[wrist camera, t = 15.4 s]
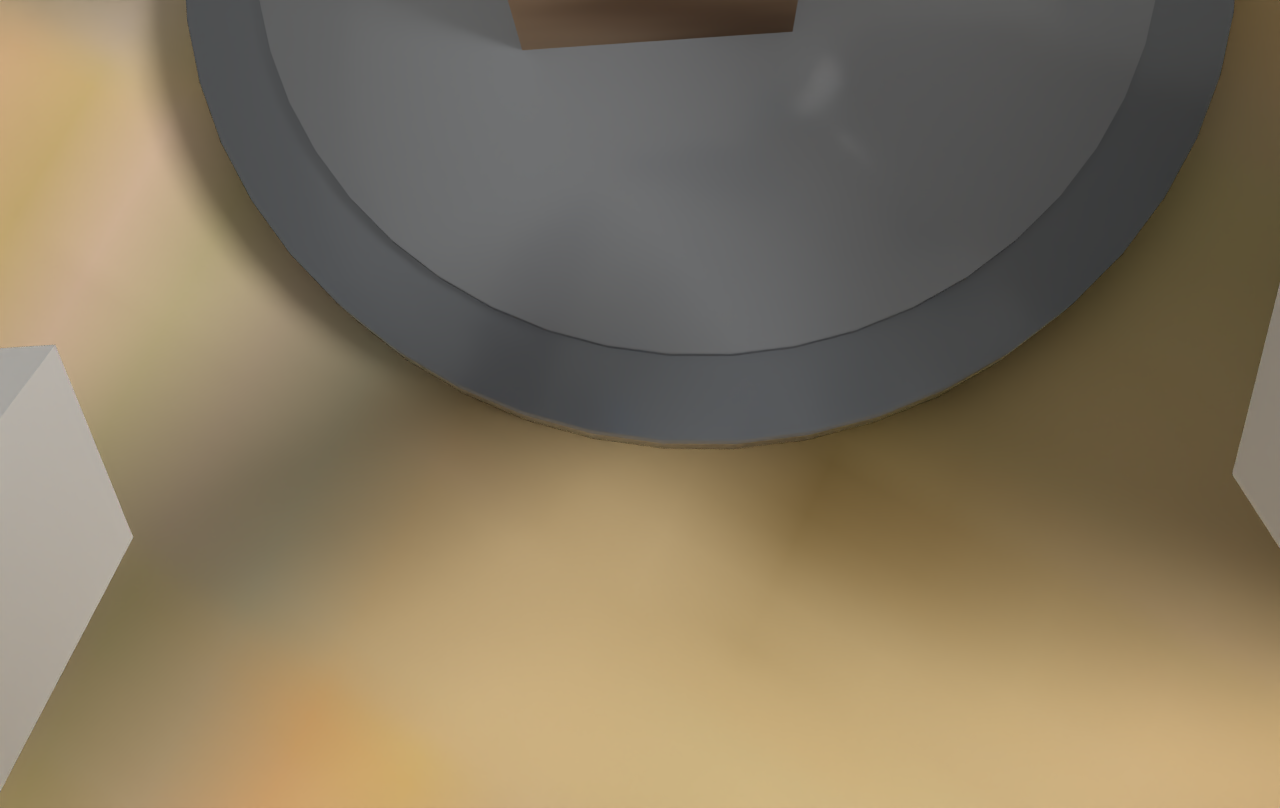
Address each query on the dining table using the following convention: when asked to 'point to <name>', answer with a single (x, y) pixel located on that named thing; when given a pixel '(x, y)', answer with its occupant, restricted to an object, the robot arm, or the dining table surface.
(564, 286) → the dish
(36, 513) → the robot arm
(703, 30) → the walnut block
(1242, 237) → the dining table surface
